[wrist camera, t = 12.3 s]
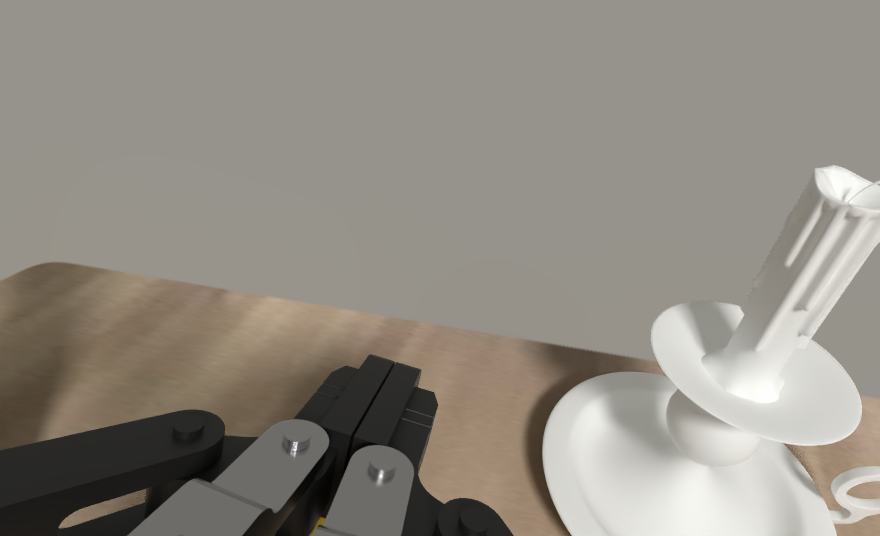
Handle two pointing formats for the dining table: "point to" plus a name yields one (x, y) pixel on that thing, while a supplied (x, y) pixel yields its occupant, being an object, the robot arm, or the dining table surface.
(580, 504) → the candlestick
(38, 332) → the dining table surface
